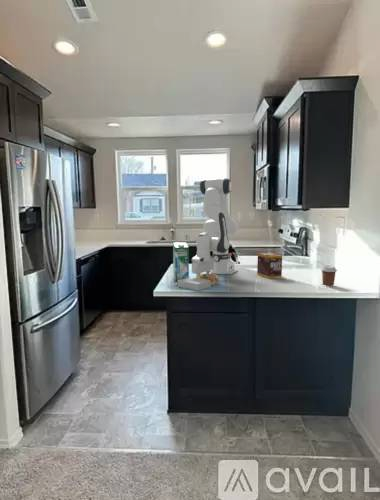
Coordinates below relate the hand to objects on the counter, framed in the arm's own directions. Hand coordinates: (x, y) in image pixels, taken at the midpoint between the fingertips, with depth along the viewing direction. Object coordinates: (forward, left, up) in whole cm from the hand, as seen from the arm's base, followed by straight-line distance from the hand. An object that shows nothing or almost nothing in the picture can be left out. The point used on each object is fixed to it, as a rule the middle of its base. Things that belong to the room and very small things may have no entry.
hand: (203, 278), depth 231 cm
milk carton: (+5, -15, -2) cm, 16 cm away
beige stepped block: (0, +3, -2) cm, 4 cm away
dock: (+15, +4, -2) cm, 16 cm away
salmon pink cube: (0, +7, 0) cm, 7 cm away
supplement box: (-43, +26, -2) cm, 50 cm away
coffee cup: (-39, +68, -2) cm, 78 cm away
